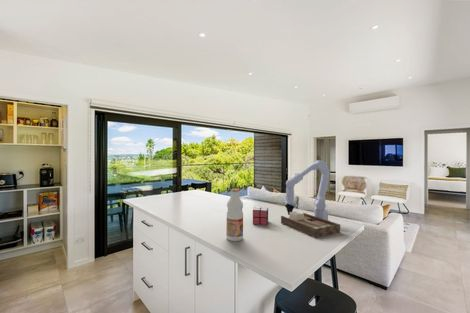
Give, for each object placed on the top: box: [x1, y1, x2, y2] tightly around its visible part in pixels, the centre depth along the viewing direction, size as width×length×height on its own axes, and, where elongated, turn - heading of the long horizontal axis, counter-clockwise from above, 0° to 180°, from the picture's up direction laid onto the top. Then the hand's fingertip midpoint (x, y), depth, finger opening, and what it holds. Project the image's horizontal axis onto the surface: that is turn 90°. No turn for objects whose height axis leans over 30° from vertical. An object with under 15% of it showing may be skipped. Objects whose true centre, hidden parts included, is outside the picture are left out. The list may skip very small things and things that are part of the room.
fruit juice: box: [225, 188, 244, 242], centre depth 126 cm, size 9×9×28 cm
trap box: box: [280, 212, 341, 239], centre depth 147 cm, size 21×31×5 cm
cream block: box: [288, 210, 305, 220], centre depth 157 cm, size 7×7×4 cm
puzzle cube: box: [252, 206, 269, 226], centre depth 157 cm, size 10×10×10 cm
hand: (289, 214), depth 164 cm, fingers closed
